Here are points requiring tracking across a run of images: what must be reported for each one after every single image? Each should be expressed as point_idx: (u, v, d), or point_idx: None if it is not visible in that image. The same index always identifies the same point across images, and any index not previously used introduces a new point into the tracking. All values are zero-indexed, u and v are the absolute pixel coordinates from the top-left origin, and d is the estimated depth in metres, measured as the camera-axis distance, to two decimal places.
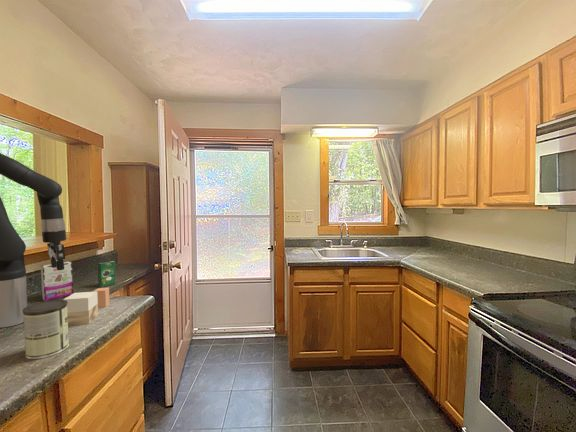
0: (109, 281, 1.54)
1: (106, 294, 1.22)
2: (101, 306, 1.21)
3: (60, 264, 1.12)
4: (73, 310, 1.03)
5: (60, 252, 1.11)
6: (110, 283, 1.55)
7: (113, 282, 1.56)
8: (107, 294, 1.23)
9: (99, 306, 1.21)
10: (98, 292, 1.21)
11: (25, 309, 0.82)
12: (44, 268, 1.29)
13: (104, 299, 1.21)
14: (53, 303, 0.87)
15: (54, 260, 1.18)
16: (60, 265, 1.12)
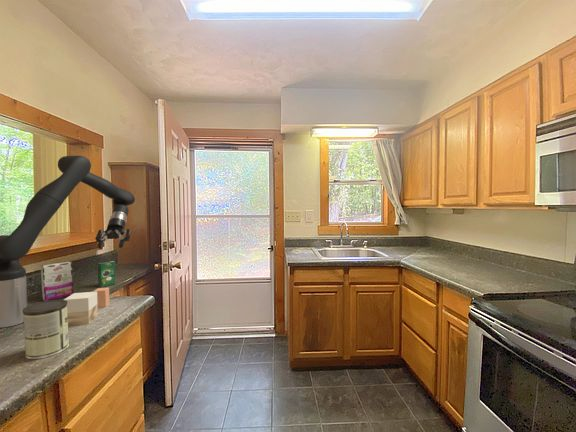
0: (109, 281, 1.54)
1: (106, 294, 1.22)
2: (101, 306, 1.21)
3: (123, 243, 1.36)
4: (73, 310, 1.03)
5: (129, 234, 1.40)
6: (110, 283, 1.55)
7: (113, 282, 1.56)
8: (107, 294, 1.23)
9: (99, 306, 1.21)
10: (98, 292, 1.21)
11: (25, 309, 0.82)
12: (44, 268, 1.29)
13: (104, 299, 1.21)
14: (53, 303, 0.87)
15: (102, 242, 1.34)
16: (123, 243, 1.36)
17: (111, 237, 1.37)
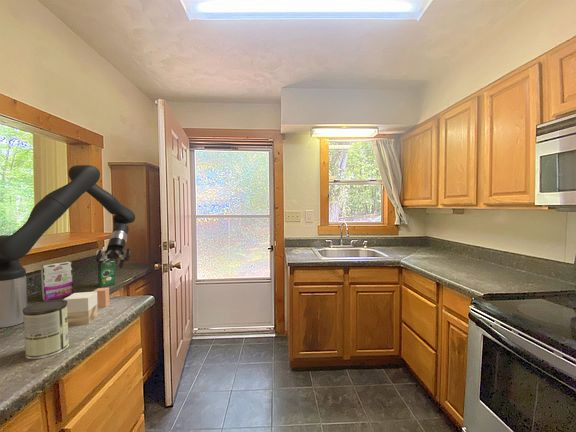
0: (109, 281, 1.54)
1: (106, 294, 1.22)
2: (101, 306, 1.21)
3: (123, 263, 1.36)
4: (73, 310, 1.03)
5: (129, 254, 1.40)
6: (110, 283, 1.55)
7: (113, 282, 1.56)
8: (107, 294, 1.23)
9: (99, 306, 1.21)
10: (98, 292, 1.21)
11: (25, 309, 0.82)
12: (44, 268, 1.29)
13: (104, 299, 1.21)
14: (53, 303, 0.87)
15: (102, 263, 1.34)
16: (123, 264, 1.36)
17: (111, 257, 1.37)
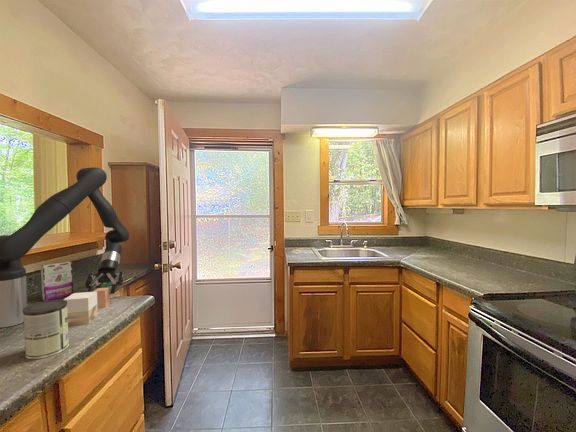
0: None
1: (106, 294, 1.22)
2: (101, 306, 1.21)
3: (115, 288, 1.25)
4: (73, 310, 1.03)
5: (122, 278, 1.29)
6: (110, 283, 1.55)
7: None
8: (107, 294, 1.23)
9: (99, 306, 1.21)
10: (98, 292, 1.21)
11: (25, 309, 0.82)
12: (44, 268, 1.29)
13: (104, 299, 1.21)
14: (53, 303, 0.87)
15: (92, 288, 1.23)
16: (115, 289, 1.25)
17: (102, 281, 1.26)
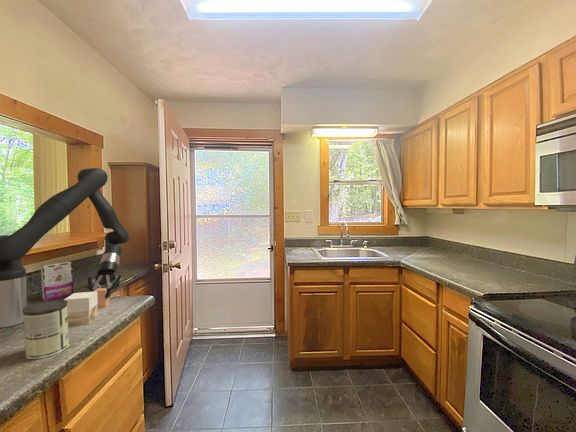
0: None
1: None
2: (101, 306, 1.21)
3: (110, 292, 1.23)
4: (74, 310, 1.03)
5: (118, 282, 1.27)
6: None
7: (113, 282, 1.56)
8: None
9: (99, 306, 1.21)
10: (98, 292, 1.21)
11: (25, 309, 0.82)
12: (44, 268, 1.29)
13: (104, 299, 1.21)
14: (53, 303, 0.87)
15: None
16: (109, 293, 1.23)
17: None
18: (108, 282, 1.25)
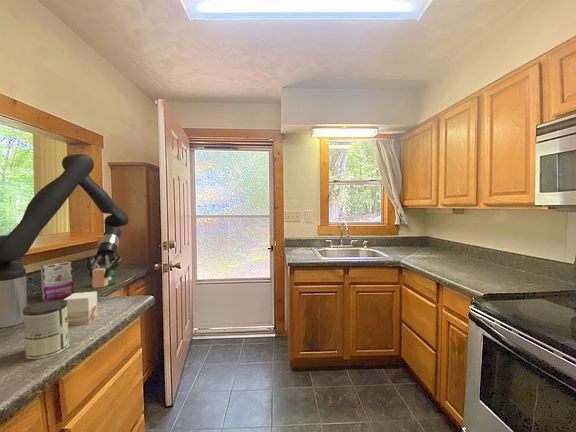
0: (109, 281, 1.54)
1: None
2: (100, 285, 1.21)
3: (109, 272, 1.23)
4: (73, 310, 1.03)
5: (118, 263, 1.27)
6: (110, 283, 1.55)
7: (113, 282, 1.56)
8: None
9: (98, 285, 1.20)
10: (97, 271, 1.20)
11: (25, 309, 0.82)
12: (44, 268, 1.29)
13: (103, 279, 1.21)
14: (53, 303, 0.87)
15: None
16: (108, 273, 1.23)
17: None
18: (107, 262, 1.24)
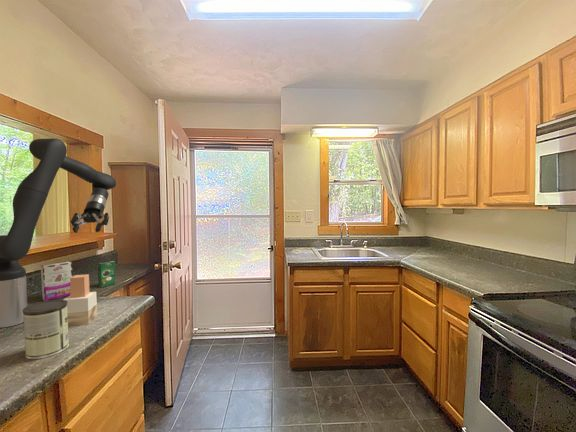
0: (109, 281, 1.54)
1: (85, 282, 1.07)
2: (79, 295, 1.05)
3: (100, 226, 1.28)
4: (73, 310, 1.03)
5: (107, 218, 1.32)
6: (110, 283, 1.55)
7: (113, 282, 1.56)
8: (86, 282, 1.07)
9: (77, 295, 1.05)
10: (76, 279, 1.05)
11: (25, 309, 0.82)
12: (44, 268, 1.29)
13: (83, 287, 1.05)
14: (53, 303, 0.87)
15: (78, 226, 1.27)
16: (100, 227, 1.28)
17: (88, 221, 1.29)
18: (97, 218, 1.29)
